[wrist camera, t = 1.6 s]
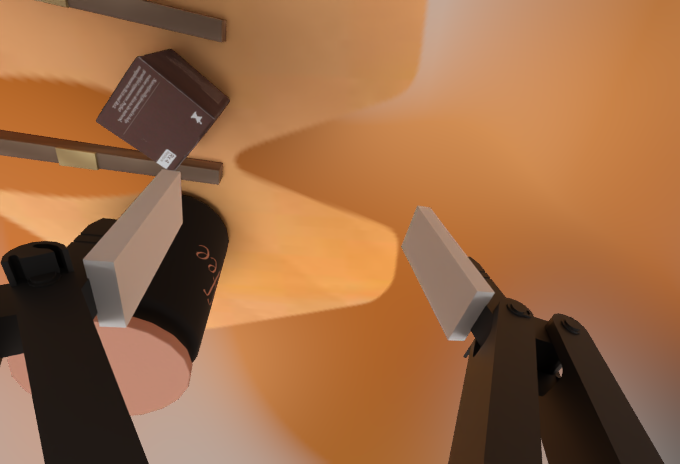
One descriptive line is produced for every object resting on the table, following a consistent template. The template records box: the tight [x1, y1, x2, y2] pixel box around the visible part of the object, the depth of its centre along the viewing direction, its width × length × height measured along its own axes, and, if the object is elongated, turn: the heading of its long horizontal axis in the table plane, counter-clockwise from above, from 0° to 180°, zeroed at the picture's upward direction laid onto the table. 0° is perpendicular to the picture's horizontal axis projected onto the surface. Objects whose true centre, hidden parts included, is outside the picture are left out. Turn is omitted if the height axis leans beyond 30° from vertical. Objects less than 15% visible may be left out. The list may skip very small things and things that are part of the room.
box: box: [96, 49, 230, 171], centre depth 26 cm, size 6×6×7 cm
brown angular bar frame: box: [0, 0, 226, 185], centre depth 25 cm, size 17×24×4 cm
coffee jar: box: [8, 195, 229, 416], centre depth 29 cm, size 11×11×18 cm
